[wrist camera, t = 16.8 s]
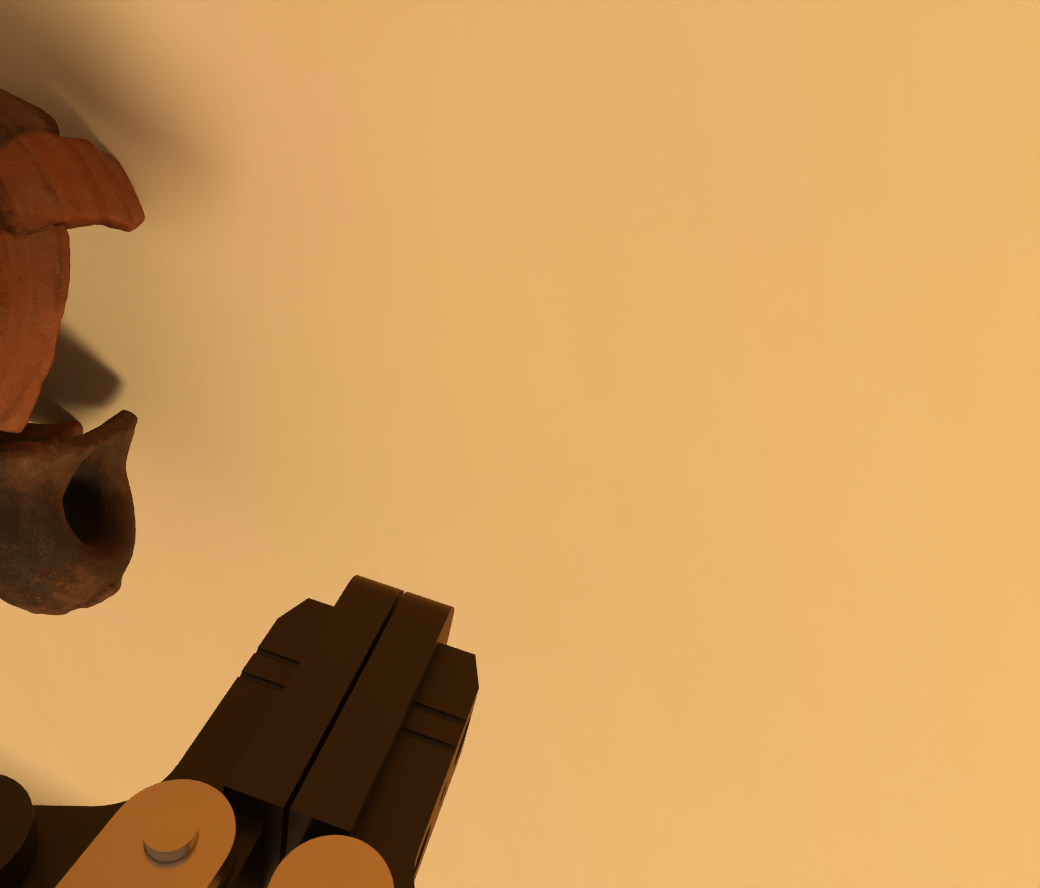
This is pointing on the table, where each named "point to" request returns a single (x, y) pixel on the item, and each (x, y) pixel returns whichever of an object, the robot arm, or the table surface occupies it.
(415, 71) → the table surface
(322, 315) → the table surface
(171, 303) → the table surface
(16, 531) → the pottery mug
